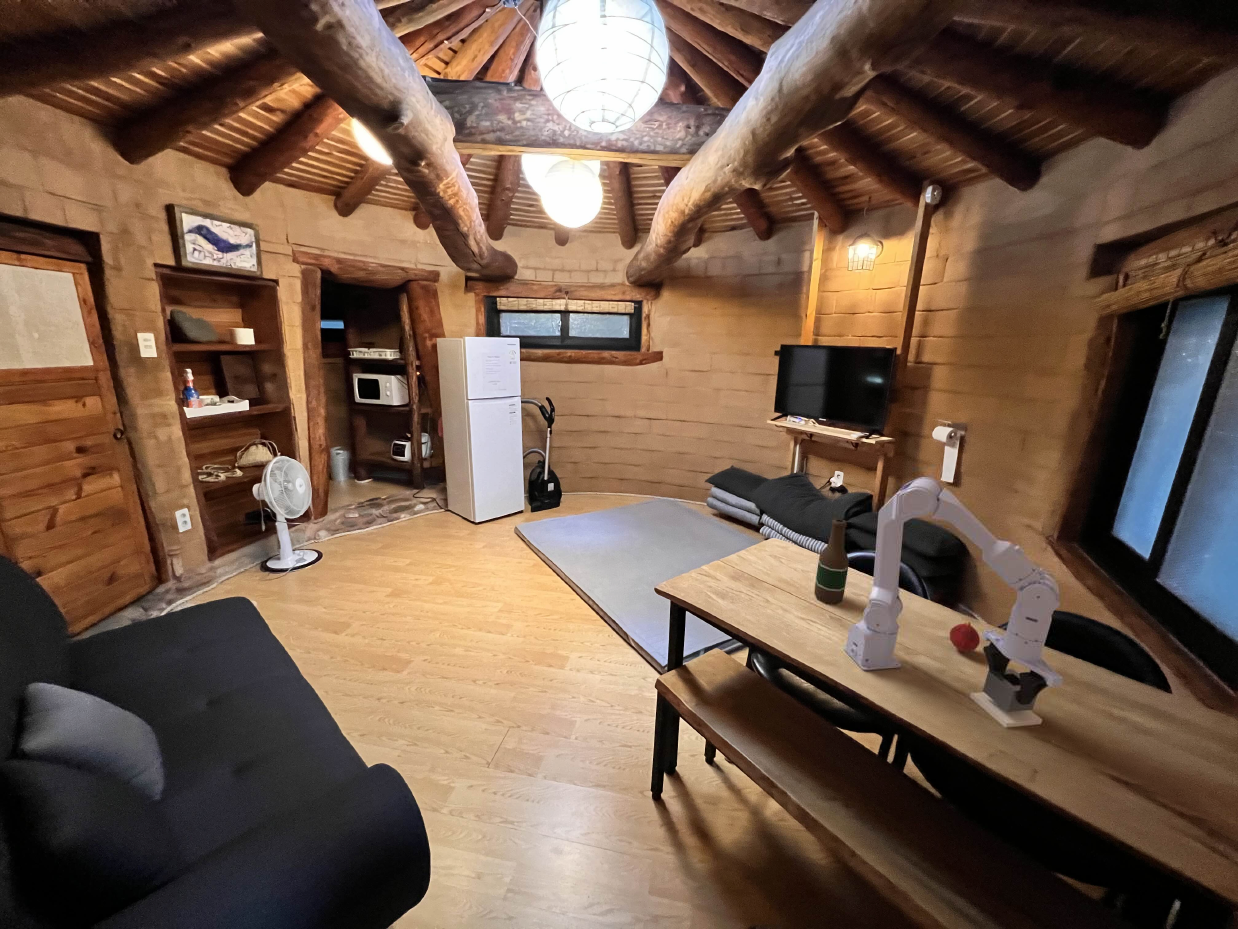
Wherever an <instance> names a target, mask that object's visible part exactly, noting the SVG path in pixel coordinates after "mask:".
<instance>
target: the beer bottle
mask: <svg viewBox="0 0 1238 929" xmlns="http://www.w3.org/2000/svg"><path fill="white" fill-rule="evenodd" d="M831 524H832V525H831V526H832V527H831V530H830V537H829V540H828V544H827V546H825V547H824V548H823V549H822V550H821V552H820V554H819V558H818V561H817V562H818V563H817V567H816V568H817V569H816V574H815V575H816V576H815V584H814V593H813V594H814V595H815V598H816V600H817V601H820V602H822V603H824V604H825V605H834V606H835V605H836V606H837V605H838V604H841V603H842V602H843V600H844V596H845V590H846V584H847V579H848V578H847V577H848V571H849V565H850V564H849V562H850V560H849V557H848V554H847V551H846V550H845V535H846V527H847V526H848V524H847V521H846V520H844V519H841V518H835V519H833V520H832V521H831Z"/></svg>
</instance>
